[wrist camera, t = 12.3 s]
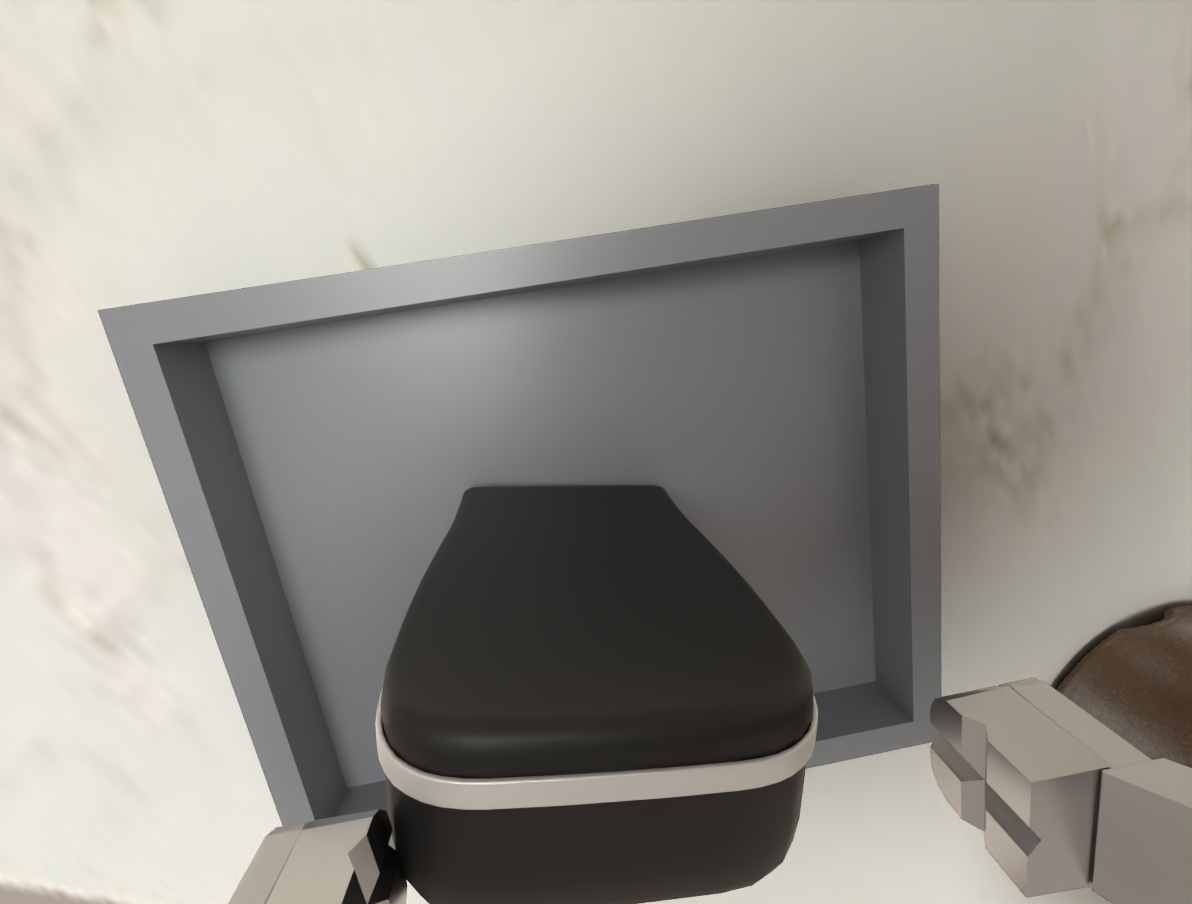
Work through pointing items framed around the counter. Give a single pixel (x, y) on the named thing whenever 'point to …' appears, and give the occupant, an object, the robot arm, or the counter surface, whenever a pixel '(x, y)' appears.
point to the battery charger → (589, 708)
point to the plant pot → (1142, 685)
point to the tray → (558, 450)
